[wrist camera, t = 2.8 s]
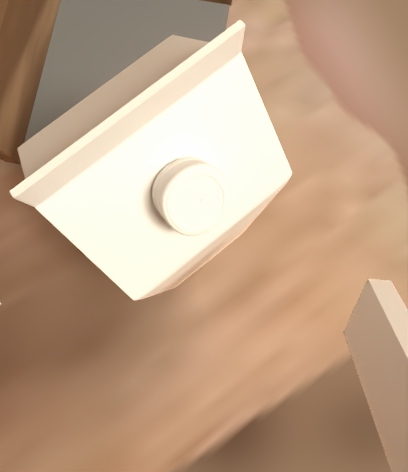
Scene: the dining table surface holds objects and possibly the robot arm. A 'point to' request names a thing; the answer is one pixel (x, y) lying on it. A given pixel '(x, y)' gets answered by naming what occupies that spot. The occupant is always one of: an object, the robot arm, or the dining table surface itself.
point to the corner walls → (24, 65)
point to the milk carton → (159, 163)
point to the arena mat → (111, 45)
